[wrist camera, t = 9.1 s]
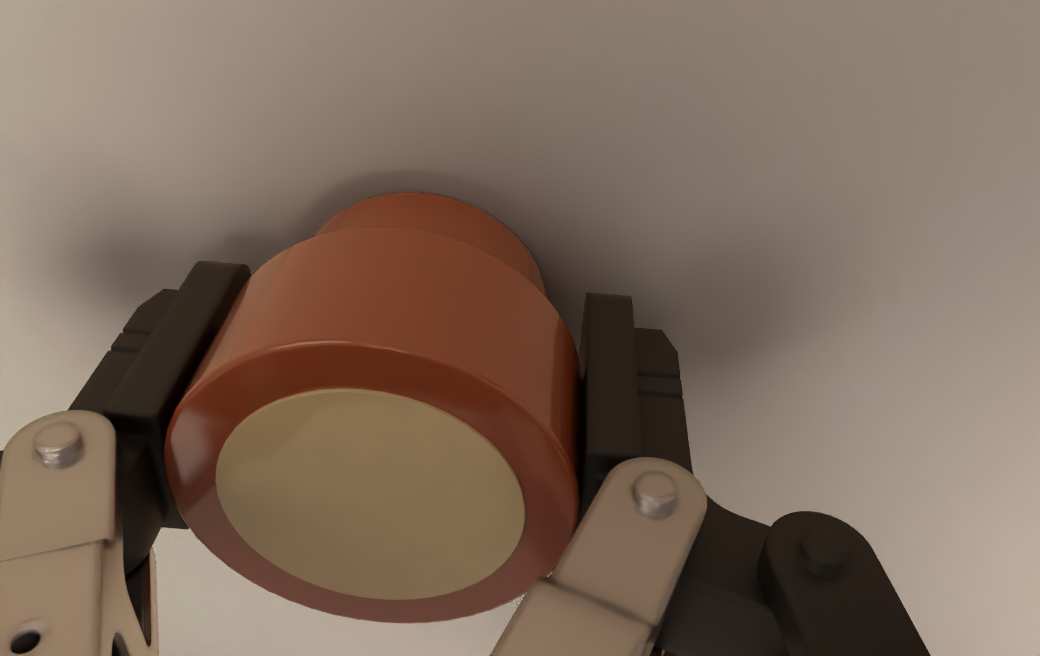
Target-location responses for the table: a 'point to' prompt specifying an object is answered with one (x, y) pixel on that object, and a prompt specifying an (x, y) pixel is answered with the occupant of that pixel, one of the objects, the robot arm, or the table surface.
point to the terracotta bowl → (387, 419)
